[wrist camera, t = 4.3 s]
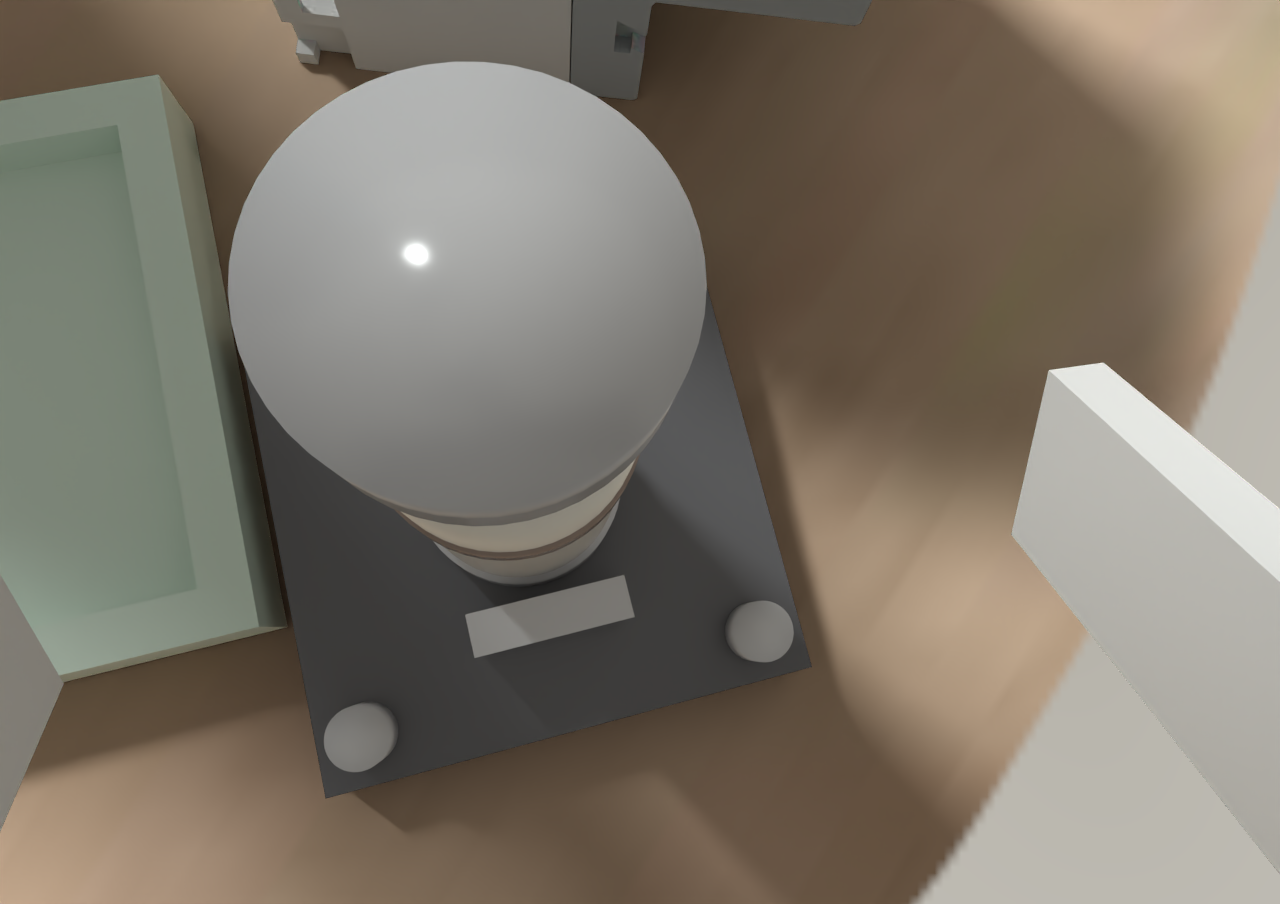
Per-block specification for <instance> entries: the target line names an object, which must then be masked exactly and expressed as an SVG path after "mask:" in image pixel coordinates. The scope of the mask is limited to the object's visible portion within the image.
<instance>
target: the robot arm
mask: <svg viewBox="0 0 1280 904" xmlns="http://www.w3.org/2000/svg"><path fill="white" fill-rule="evenodd" d="M1011 535H1012V536H1013V537H1014V539H1015V540H1016V541H1017V542H1018V544H1019V545H1020V546H1021V547H1022V549H1023V550H1024V551H1025V552H1026V554H1027V555H1028V556H1029V558H1030V559H1031V560H1032V561H1033V563H1034V564H1035V565H1036V566H1037V568H1038V569H1039V570H1040V571H1041V573H1042V574H1043V575H1044V576H1045V578H1046V579H1047V580H1048V582H1049V583H1050V584H1051V585H1052V587H1053V588H1054V589H1055V590H1056V592H1057V593H1058V594H1059V595H1060V597H1061V598H1062V599H1063V601H1064V602H1065V603H1066V604H1067V606H1068V607H1069V608H1070V609H1071V611H1072V612H1073V613H1074V614H1075V616H1076V617H1077V618H1078V620H1079V621H1080V622H1081V623H1082V625H1083V626H1084V627H1085V628H1086V630H1087V631H1088V632H1089V633H1090V635H1091V636H1092V637H1093V638H1094V640H1095V641H1096V642H1097V644H1098V645H1099V646H1100V647H1101V649H1102V650H1103V651H1104V652H1105V654H1106V655H1107V656H1108V657H1109V659H1110V660H1111V661H1112V663H1113V664H1114V665H1115V666H1116V668H1117V669H1118V670H1119V671H1120V673H1121V674H1122V675H1123V676H1124V678H1125V679H1126V680H1127V681H1128V683H1129V684H1130V685H1131V686H1132V688H1133V689H1134V690H1135V691H1136V693H1137V694H1138V695H1139V697H1140V698H1141V699H1142V700H1143V702H1144V703H1145V704H1146V705H1147V707H1148V708H1149V709H1150V711H1151V712H1152V713H1153V714H1154V716H1155V717H1156V718H1157V719H1158V721H1159V722H1160V723H1161V724H1162V726H1163V727H1164V728H1165V729H1166V731H1167V732H1168V733H1169V735H1170V736H1171V737H1172V738H1173V740H1174V741H1175V742H1176V744H1177V745H1178V746H1179V747H1180V748H1181V750H1182V751H1183V752H1184V754H1185V755H1186V756H1187V757H1188V759H1189V760H1190V761H1191V762H1192V764H1193V765H1194V766H1195V767H1196V769H1197V770H1198V771H1199V773H1200V774H1201V775H1202V776H1203V778H1204V779H1205V780H1206V781H1207V783H1208V784H1209V785H1210V787H1211V788H1212V789H1213V790H1214V791H1215V793H1216V794H1217V795H1218V797H1219V798H1220V799H1221V800H1222V802H1223V803H1224V804H1225V806H1226V807H1227V808H1228V809H1229V810H1230V812H1231V813H1232V814H1233V816H1234V817H1235V818H1236V819H1237V821H1238V822H1239V823H1240V824H1241V826H1242V827H1243V828H1244V829H1245V831H1246V832H1247V833H1248V835H1249V836H1250V837H1251V838H1252V840H1253V841H1254V842H1255V843H1256V845H1257V846H1258V847H1259V849H1260V850H1261V851H1262V852H1263V854H1264V855H1265V856H1266V857H1267V859H1269V861H1270V862H1271V864H1272V865H1273V866H1274V868H1275V869H1276V870H1277V871H1278V872H1279V874H1280V509H1279V508H1278V507H1277V506H1276V505H1274V504H1273V503H1272V502H1271V501H1270V500H1268V499H1267V498H1266V497H1265V496H1264V495H1262V494H1261V493H1260V492H1259V491H1258V490H1256V489H1255V488H1254V487H1253V486H1251V485H1250V484H1249V483H1248V482H1247V481H1245V480H1244V479H1243V478H1242V477H1241V476H1239V475H1238V474H1237V473H1236V472H1235V471H1233V470H1232V469H1231V468H1230V467H1229V466H1227V465H1226V464H1225V463H1224V462H1223V461H1221V460H1220V459H1219V458H1218V457H1217V456H1215V455H1214V454H1213V453H1212V452H1211V451H1209V450H1208V449H1207V448H1206V447H1204V446H1203V445H1202V444H1201V443H1200V442H1199V441H1197V440H1196V439H1195V438H1194V437H1193V436H1191V435H1190V434H1189V433H1188V432H1187V431H1185V430H1184V429H1183V428H1182V427H1180V426H1179V425H1178V424H1177V423H1176V422H1174V421H1173V420H1172V419H1171V418H1170V417H1168V416H1167V415H1166V414H1165V413H1164V412H1162V411H1161V410H1160V409H1159V408H1158V407H1156V406H1155V405H1154V404H1153V403H1152V402H1150V401H1149V400H1148V399H1147V398H1146V397H1144V396H1143V395H1142V394H1141V393H1140V392H1138V391H1137V390H1136V389H1135V388H1134V387H1132V386H1131V385H1130V384H1129V383H1128V382H1126V381H1125V380H1124V379H1123V378H1121V377H1120V376H1119V375H1118V374H1117V373H1115V372H1114V371H1113V370H1112V369H1111V368H1109V367H1108V366H1107V365H1106V364H1105V363H1097V364H1090V365H1082V366H1075V367H1068V368H1060V369H1053V370H1049V371H1048V375H1047V380H1046V384H1045V389H1044V393H1043V397H1042V402H1041V406H1040V411H1039V415H1038V419H1037V424H1036V428H1035V432H1034V437H1033V441H1032V446H1031V450H1030V454H1029V459H1028V463H1027V468H1026V472H1025V476H1024V481H1023V485H1022V490H1021V494H1020V498H1019V503H1018V507H1017V512H1016V516H1015V520H1014V525H1013V529H1012V533H1011ZM63 685H64V683H63V681H62V680H61V678H60V676H59V675H58V673H57V671H56V669H55V668H54V666H53V664H52V663H51V661H50V659H49V657H48V656H47V654H46V652H45V650H44V649H43V647H42V645H41V644H40V642H39V640H38V638H37V637H36V635H35V633H34V632H33V630H32V628H31V626H30V625H29V623H28V621H27V620H26V618H25V616H24V614H23V613H22V611H21V609H20V607H19V606H18V604H17V602H16V601H15V599H14V597H13V595H12V594H11V592H10V590H9V589H8V587H7V585H6V583H5V582H4V580H3V578H2V576H1V575H0V831H1V829H2V826H3V824H4V822H5V819H6V817H7V815H8V812H9V810H10V808H11V805H12V803H13V801H14V798H15V796H16V794H17V791H18V789H19V787H20V785H21V782H22V780H23V778H24V775H25V773H26V771H27V768H28V766H29V764H30V761H31V759H32V757H33V754H34V752H35V750H36V747H37V745H38V743H39V740H40V738H41V736H42V733H43V731H44V729H45V726H46V724H47V722H48V720H49V717H50V715H51V713H52V710H53V708H54V706H55V703H56V701H57V699H58V696H59V694H60V692H61V689H62V687H63Z"/></svg>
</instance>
